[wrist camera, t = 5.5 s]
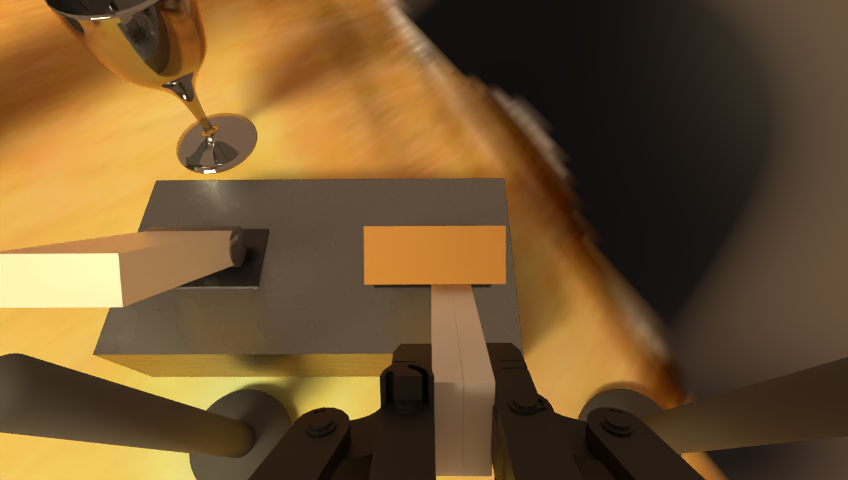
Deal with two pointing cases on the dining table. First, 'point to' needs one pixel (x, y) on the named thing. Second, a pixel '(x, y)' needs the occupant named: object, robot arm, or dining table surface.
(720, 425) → the post
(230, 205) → the panel
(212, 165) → the wine glass
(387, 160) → the dining table surface
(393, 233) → the panel
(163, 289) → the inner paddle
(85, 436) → the post
